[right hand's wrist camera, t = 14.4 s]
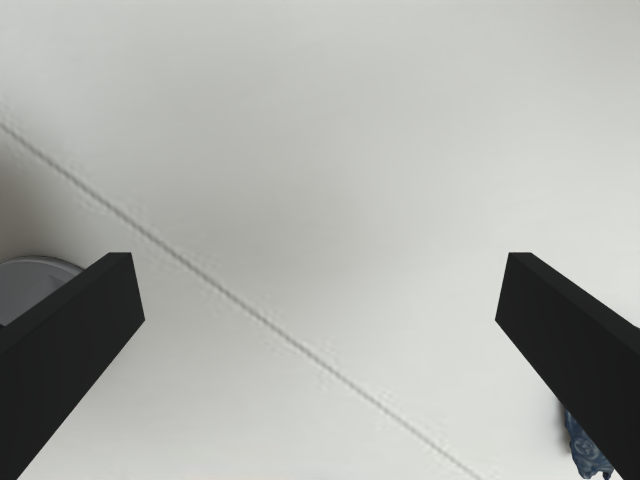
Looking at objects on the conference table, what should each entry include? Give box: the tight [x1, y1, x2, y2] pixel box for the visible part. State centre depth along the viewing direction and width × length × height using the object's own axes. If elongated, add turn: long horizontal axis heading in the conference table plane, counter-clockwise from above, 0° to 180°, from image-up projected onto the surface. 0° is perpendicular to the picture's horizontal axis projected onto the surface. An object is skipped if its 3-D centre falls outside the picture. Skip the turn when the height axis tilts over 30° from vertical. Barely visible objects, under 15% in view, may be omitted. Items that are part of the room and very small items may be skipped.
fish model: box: [564, 407, 614, 480], centre depth 42 cm, size 7×21×5 cm, turn 5°
